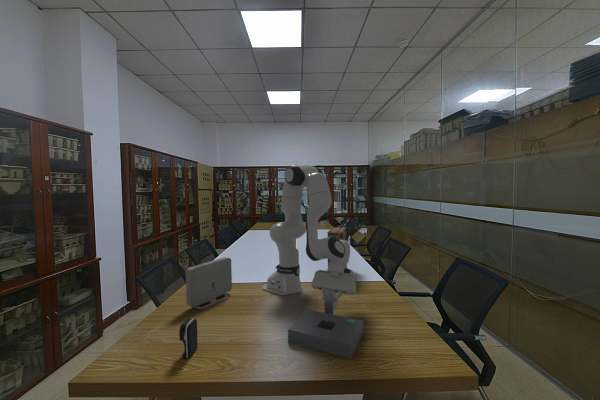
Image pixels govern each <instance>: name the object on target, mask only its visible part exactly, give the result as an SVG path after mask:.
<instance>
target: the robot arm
mask: <svg viewBox="0 0 600 400" xmlns="http://www.w3.org/2000/svg"><path fill="white" fill-rule="evenodd" d="M323 172H324V171H323V170H322V169H321V168H320V167H317V166H313V165H312V166H311V165H307V164H304V165H302V164H300V165H297V164H291V165H289V166H287V168H285V171H284V183H283V187H282V194H281V204H280V211H281V212H282V213H283V214H284V218H285V219H284V221H279V222H277V223H275V224H273V225H272V226H271V227H270V228H269V237H270V238H271V240H272V241H273V242H274V243H275V244H276V247H277V250H278V261H279V264H277V265H276V266H275V269H276V271H275V272H273V273H271V274H270V275H269V276H268V277H267V279H266V283H265V284H264V285H263V286H262V290H263V291H265V292H269V293H272V294H276V295H279V296H286V295H292V294H297V293H301V291H302V290H303V287H302V283H301V278H300V273H301V269H300V268H301V267H300V266H301V265H300V255H299V253H300V252H299V249H298V248H296V247H295V244H294V240H297V239H299V238H301V237H303V235H305V234H306V236H305V237H306V244H305V253H306V256H307V257H308V258H309V259H310V260H311V261H313V262H317V261H321V260H328V258H329V259H330V262H329V266H328V265H327V269H326V270H324V269H323V270H321V269H319V270H316V271H315V272H314V275H313V279H312V281H311V287H312V288H313V289H315V290H319V291H321V293H322V297H321V299H322V300H323V301H324V292H325V291H326V290H327V289H333V290H336V297H334V302H336V303H338V302H339V299H340V298H341V297H342V296H343V295H349V296H350V295H351V296H354V295H355V294H356V290H357V283H356V274H355V272H354V271H353V270H352V269H350V268H348V263H349V260H350V256H351V245H350V243H349V242H348V241H347V240H346V241H345V240H339V239H337V238H336V237H328V236H327V237H324V238H319V236H318V223H319V219H320V218H321V217H322V216H323V215H324V214H325V213H326V212H328V210H329V209H330V208H331V206H332V204H333V203H332V202H333V201H332V200H333V199H332V195H331V190H330V186H329V182H328V180H327V176H326V175H325V174H324V173H323ZM305 188H306V190H307V196H308V207H307V209H306V212H305V221H303V217H302V202H303V191H304V189H305Z"/></svg>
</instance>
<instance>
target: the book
mask: <svg viewBox="0 0 600 400" xmlns="http://www.w3.org/2000/svg"><path fill="white" fill-rule="evenodd" d="M327 237H336V238H337V239H339V240H345V241H346V242H347V226H345V227H334V226H331V228H330V229H329V230H328V231H327ZM329 262H330V259H329V258H327V267H328V266H329Z"/></svg>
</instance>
